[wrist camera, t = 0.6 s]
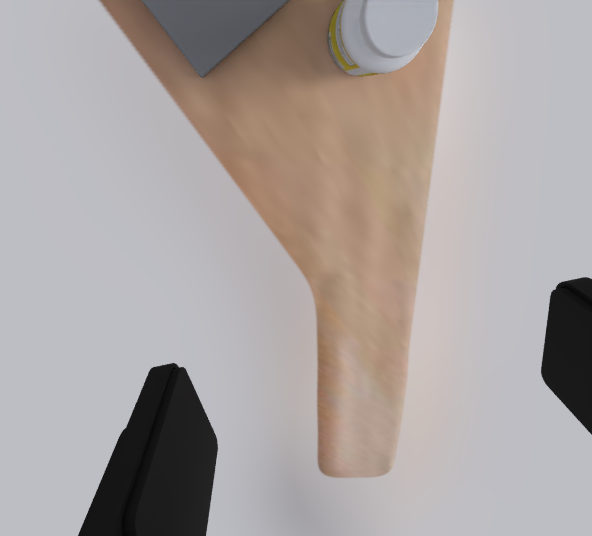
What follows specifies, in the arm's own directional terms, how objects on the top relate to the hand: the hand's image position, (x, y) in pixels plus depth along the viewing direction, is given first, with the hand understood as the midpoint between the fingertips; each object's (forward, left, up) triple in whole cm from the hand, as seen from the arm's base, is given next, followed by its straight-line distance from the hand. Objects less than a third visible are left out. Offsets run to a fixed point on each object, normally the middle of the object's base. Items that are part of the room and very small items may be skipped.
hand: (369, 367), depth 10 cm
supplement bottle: (-10, -5, -26) cm, 28 cm away
